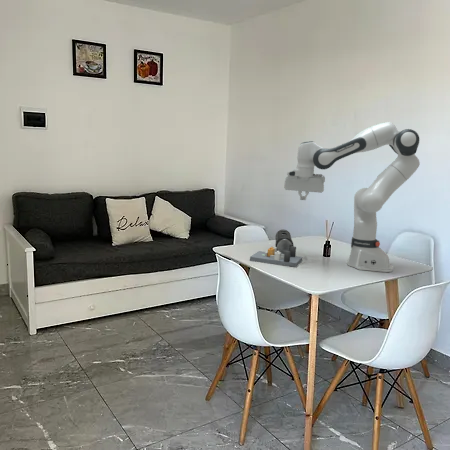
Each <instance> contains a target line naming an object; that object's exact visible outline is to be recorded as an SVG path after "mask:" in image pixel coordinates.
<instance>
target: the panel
mask: <svg viewBox="0 0 450 450" xmlns="http://www.w3.org/2000/svg"><path fill="white" fill-rule="evenodd" d="M272 247H273V248H275V250H274V255H270V256H268V250H266V251H261V250H258V251H257V252H255V253H253V254H252V255H251V256H249V261H251V262H256V261H257V262H258V263H263V262H264V263H263V264H270V265H278V266H283V267H284V266H285V267H291V268H297V267H298V265H300V264H301V262H303V259H304V258H303V256H299V255H296V254H297V252H296V251H297V247H296V246H291V247H290V251H284V254H281V253H280V252H279V251H277V247H276V246H275V245H273V246H272ZM257 262H256V263H257Z"/></svg>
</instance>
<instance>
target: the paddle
mask: <svg viewBox="0 0 450 450" xmlns="http://www.w3.org/2000/svg"><path fill="white" fill-rule="evenodd" d="M274 250H275V248H273V246H271V247H269V248H268V249H267V251H268V256H270V255H274Z"/></svg>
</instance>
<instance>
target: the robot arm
mask: <svg viewBox="0 0 450 450" xmlns="http://www.w3.org/2000/svg"><path fill="white" fill-rule="evenodd" d="M396 126H397V125H395V124H394V123H393V122H391V121H386V122H380V123H378V124H377V123H376V124H374V125H372V126H369V127H367V128H364V129H363V130H361V131H359V132H358V133H357V134H356V135H355V136H354V137H353V138H351V139H350V140H348V141H347V142H344V143H342V144H340V145H337V146H336V147H335V146H334V147H331V148H325V147H323V146H321V145H319V144H317V143H316V142H315V141H313V140H310V141H304V142H301V143H300V144H299V146H298V149H297V150H298V151H297V157H296V158H297V165H296V169H293V170H290V171H287V173H286V175H287V176H286V178H285V180H284V190H285V191H296V192H297V193H298V195H299V200H300V201H306V200H307V197H308V195H309V194H310V193H318V194H319V193H323V192H324V190H325V185H324V183H325V182H326V177H325V175H323V174H321V173H320V174H319V173H318V174H317V173H315V167H316V168H318V169H319V170H327V169H330V168H331V167H332V166H333V165H334V164H335V163H336V162H337V161H340V160H342V159H344V158H346V157H349V156H351V155H353V154H358V153H364V152H369V151H373V150H374V151H375V150H377V149H378V148H382V147H384V146H387V145H388V146H389V147H390V148H391V150H392V151H393V152H394V153H395V154H396V155H397V157H396V158H395V160H393V161H392V162H391V163H390V164H389V165H388V166H387V167H386V168H384V169H383V171H381V172H380V173H379V174H378V175H377V177H376V178H375V180H373V182H372V183H371V185H370V186H368V187H362V188H360V189H358V190H357V191H356V192H355V194H354V197H353V201H354V202H353V219H354V221H353V232H352V237H351V241H350V248H351V250H350V254H349V257H348V260H347V262H346V264H347V265H348V266H349V267H352V268H355V269H356V270H360V271H372V272H381V273H391V272H394V266H393V264H391V263H390V256H389V255H388V254H387V253H386V252H385V251H384V250H383V249H381V247H380V245H381V242H380V240H378V239H377V231H378V230H377V229H378V222H377V221H378V220H377V212H379V211H380V210H381V209H382V208H383V205H385V204H386V202H387V201H388V200H389V199H390V198H391V196H392V195H393V194H394V193H395V192H396V191H397V190H398V189H399V188H400V187H401V186H403V185H404V184H405V183H406V182H407V181H408V180H409V179H410V178H411V177H413V175H414V173H416V171H417V170H418V169H419V167H420V163H421V162H420V159H419V158H418V156H416V153H417V151H418V147H419V145H420V136H419V133H418V132H417V131H415V130H414V129H412V128H411V129H410V128H408V129H407V128H406V129H403V130H399V129H398V128H397V127H396ZM303 192H304V193H305V195H304V196H303V195H302V193H303Z"/></svg>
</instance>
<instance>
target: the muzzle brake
mask: <svg viewBox="0 0 450 450" xmlns="http://www.w3.org/2000/svg"><path fill="white" fill-rule="evenodd" d="M291 235H292V234H291V233H290V231H288V230H287V229H279V230H277V232H276V233H275V236H274V237H275V244H274V246H276V247H277V251H279V252H280V253H281V254H284V251H290V247H291V246H294V242H293V239H292V236H291ZM294 247H295V246H294Z"/></svg>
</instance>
